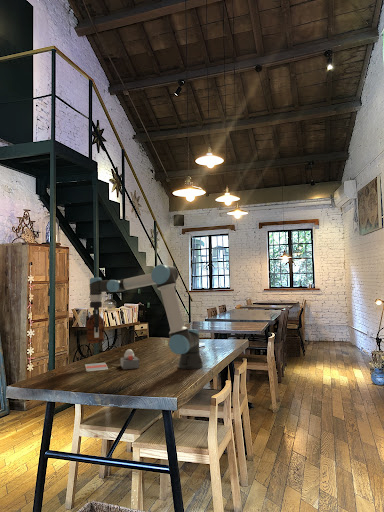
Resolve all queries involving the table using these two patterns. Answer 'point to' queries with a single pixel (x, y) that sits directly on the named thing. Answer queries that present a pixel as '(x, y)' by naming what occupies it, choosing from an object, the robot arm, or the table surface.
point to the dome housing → (130, 362)
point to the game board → (96, 367)
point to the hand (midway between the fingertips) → (96, 336)
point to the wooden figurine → (91, 330)
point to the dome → (128, 354)
